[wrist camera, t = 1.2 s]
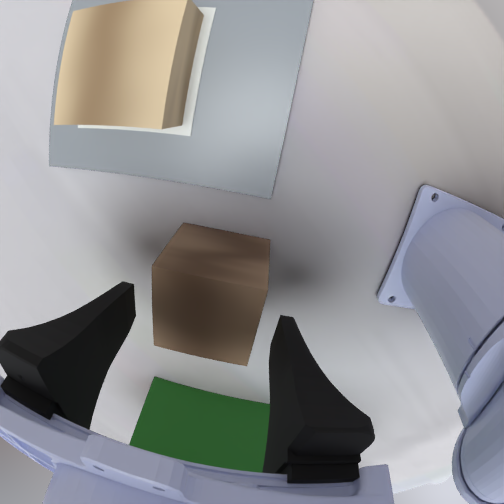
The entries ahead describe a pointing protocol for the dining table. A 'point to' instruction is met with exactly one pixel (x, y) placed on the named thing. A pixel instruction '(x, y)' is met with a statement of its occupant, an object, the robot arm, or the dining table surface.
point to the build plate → (208, 104)
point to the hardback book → (202, 427)
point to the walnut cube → (210, 293)
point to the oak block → (128, 64)
